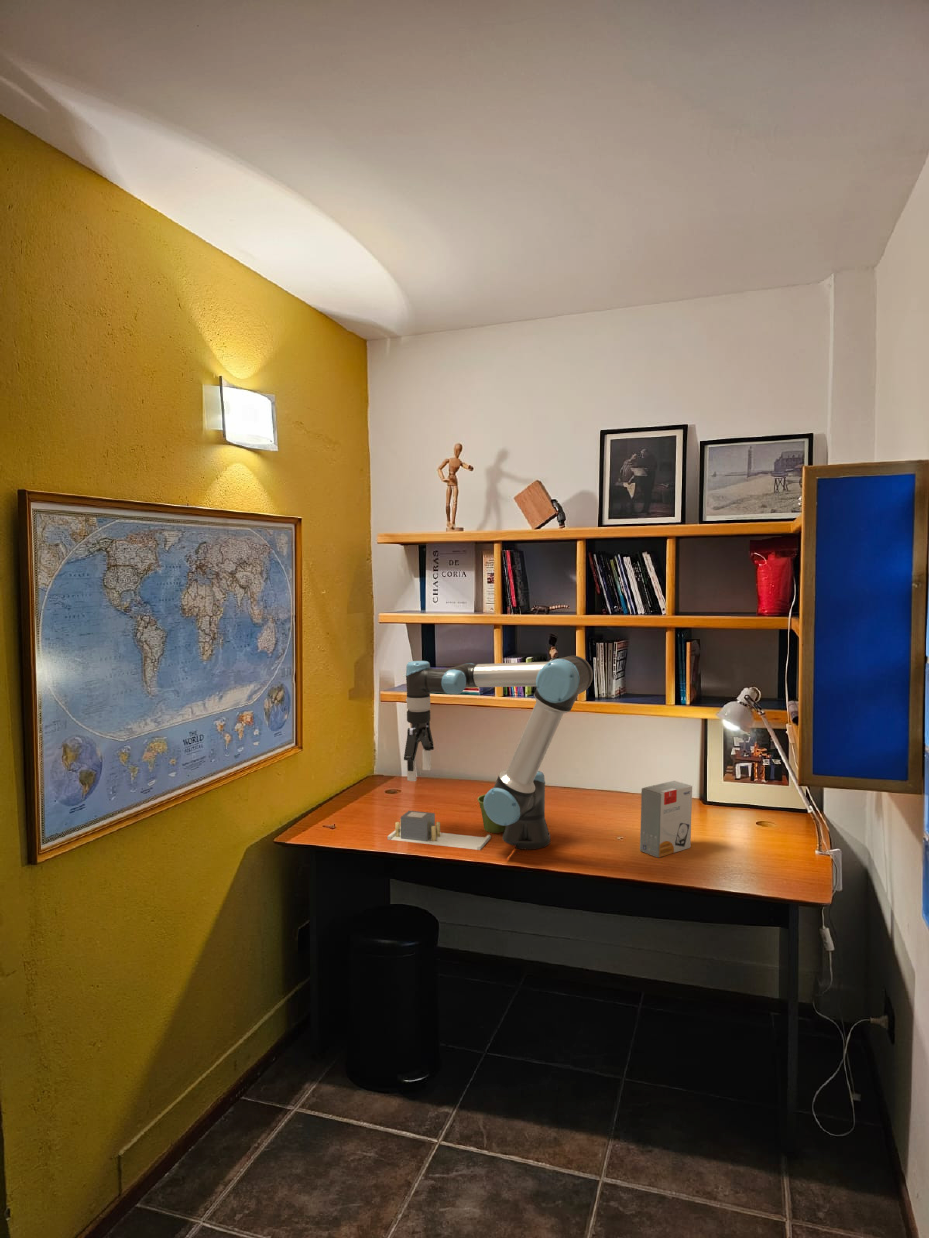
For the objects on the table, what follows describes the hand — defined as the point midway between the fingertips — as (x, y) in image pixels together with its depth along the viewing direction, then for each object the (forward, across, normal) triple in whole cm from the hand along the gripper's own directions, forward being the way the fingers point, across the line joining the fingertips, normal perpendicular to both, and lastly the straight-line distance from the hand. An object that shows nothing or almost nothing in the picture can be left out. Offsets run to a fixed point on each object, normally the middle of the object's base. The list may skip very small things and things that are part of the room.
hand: (419, 775), depth 256 cm
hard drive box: (+22, -13, +76) cm, 80 cm away
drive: (+20, +1, -1) cm, 20 cm away
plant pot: (+21, -13, +21) cm, 33 cm away
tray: (+21, +1, +7) cm, 22 cm away
